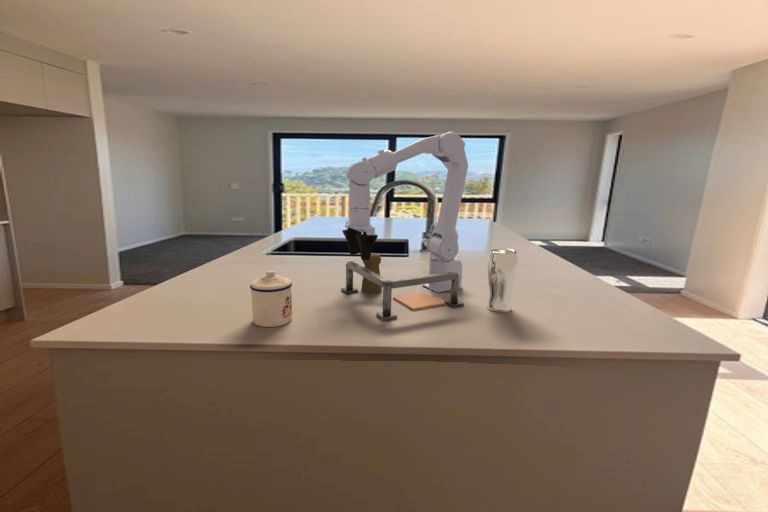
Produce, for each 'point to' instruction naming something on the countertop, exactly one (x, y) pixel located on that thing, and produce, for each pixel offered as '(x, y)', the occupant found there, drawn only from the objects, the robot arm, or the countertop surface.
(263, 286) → the teacup with lid
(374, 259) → the cork
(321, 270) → the countertop surface
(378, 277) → the bent rail
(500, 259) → the beer glass
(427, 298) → the mat
